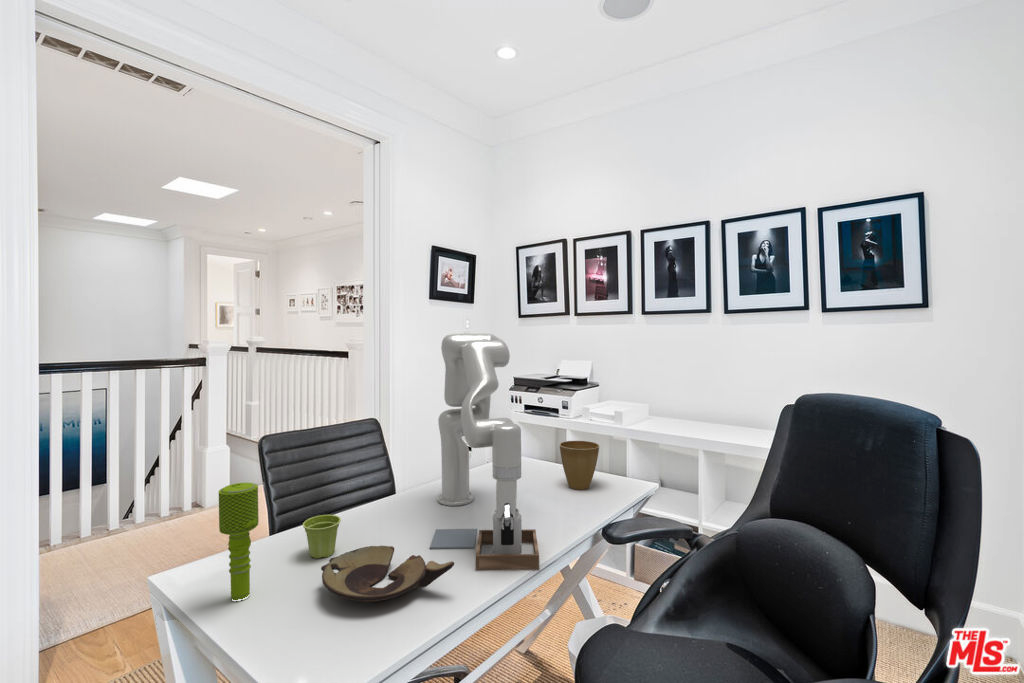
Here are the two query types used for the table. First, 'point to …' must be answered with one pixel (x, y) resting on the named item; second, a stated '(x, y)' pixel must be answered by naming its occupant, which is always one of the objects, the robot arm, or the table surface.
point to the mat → (454, 539)
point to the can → (517, 545)
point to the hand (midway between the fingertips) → (507, 536)
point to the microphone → (239, 531)
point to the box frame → (507, 559)
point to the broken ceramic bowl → (377, 574)
